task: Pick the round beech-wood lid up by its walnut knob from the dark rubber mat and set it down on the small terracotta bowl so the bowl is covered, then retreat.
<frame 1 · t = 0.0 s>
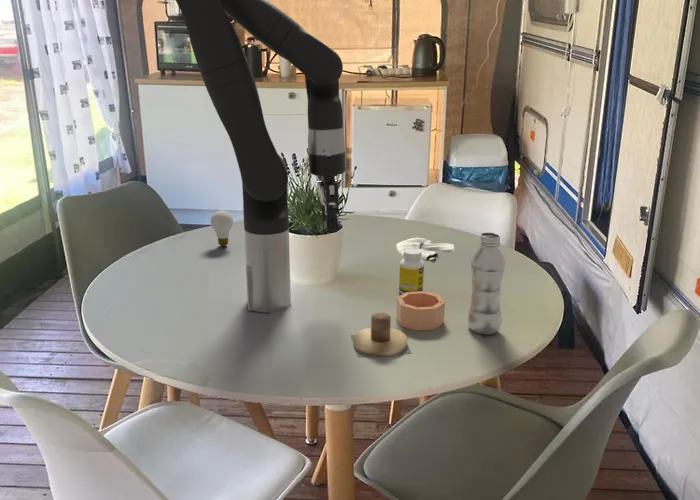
hand: (329, 226, 144), 17 cm above the table, tool pointing down, fingers open, 8 cm apart
lid: (380, 344, 128), point 1 cm above the table, touching mat
light bulb: (223, 247, 185), on the table
plastic bottle: (483, 332, 135), on the table
bowl: (419, 322, 139), on the table
cloth: (427, 254, 182), on the table
mat: (380, 346, 128), on the table
supplement bottle: (410, 292, 154), on the table
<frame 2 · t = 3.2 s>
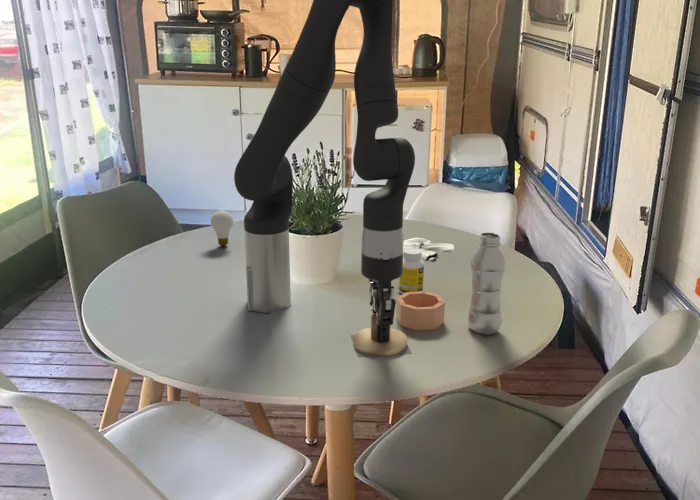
hand: (380, 336, 128), 2 cm above the table, tool pointing down, fingers closed on lid, 3 cm apart
lid: (380, 343, 128), point 1 cm above the table, touching gripper, mat
everything else where it was.
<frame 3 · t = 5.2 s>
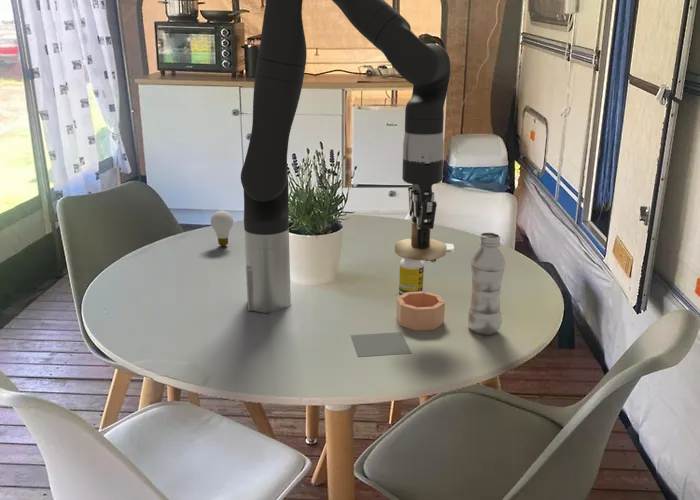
hand: (420, 243, 132), 17 cm above the table, tool pointing down, fingers closed on lid, 3 cm apart
lid: (420, 251, 132), point 16 cm above the table, touching gripper
everything else where it was.
when the fingers open (8 cm above the table, at t = 7.4 s): lid drops 1 cm, resting on bowl.
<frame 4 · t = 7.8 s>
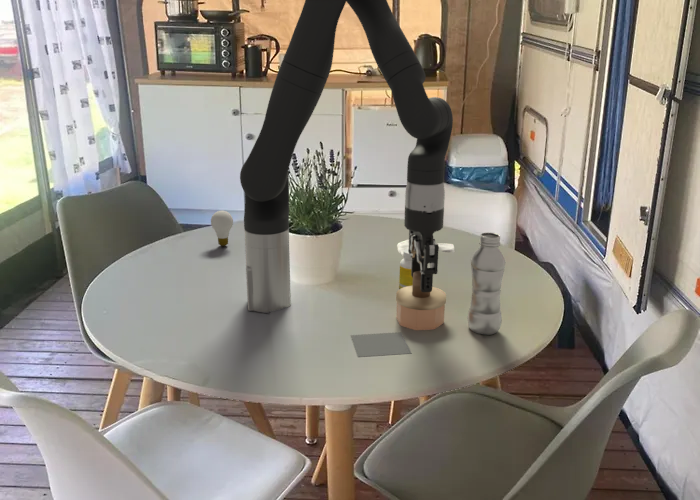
hand: (421, 284, 136), 8 cm above the table, tool pointing down, fingers open, 7 cm apart
lid: (420, 299, 137), point 5 cm above the table, touching bowl
everything else where it was.
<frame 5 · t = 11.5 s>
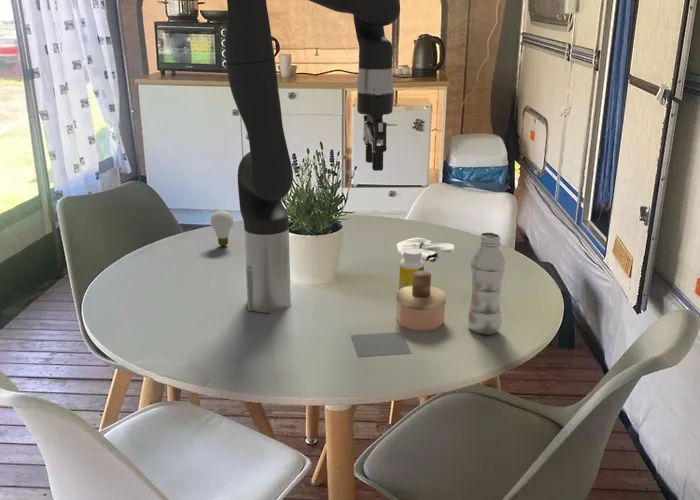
hand: (374, 166, 149), 28 cm above the table, tool pointing down, fingers open, 8 cm apart
nothing on the table moved.
at the end: lid 0.1 cm off-centre on the bowl, point 5.0 cm above the bowl's base; lid tilted 0°; the gripper is holding nothing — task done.
